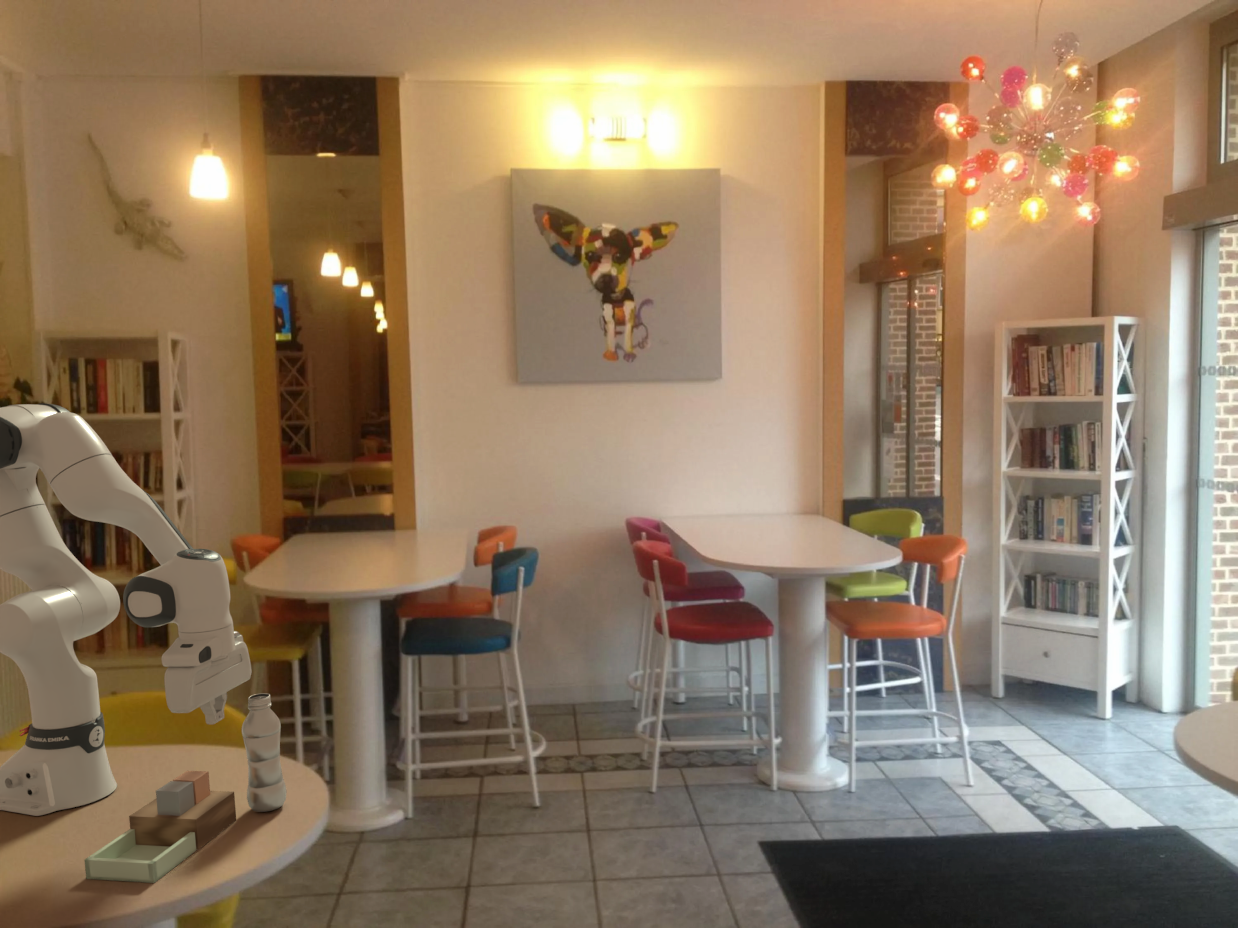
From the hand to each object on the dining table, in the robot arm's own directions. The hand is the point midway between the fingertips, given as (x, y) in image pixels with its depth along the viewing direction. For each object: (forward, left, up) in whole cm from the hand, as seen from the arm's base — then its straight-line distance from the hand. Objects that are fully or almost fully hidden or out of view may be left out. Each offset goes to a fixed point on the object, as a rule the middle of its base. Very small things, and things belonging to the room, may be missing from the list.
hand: (215, 721), depth 184 cm
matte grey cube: (0, -12, -11) cm, 16 cm away
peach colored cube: (0, -7, -11) cm, 13 cm away
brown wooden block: (-1, -9, -16) cm, 18 cm away
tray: (-1, -21, -16) cm, 26 cm away
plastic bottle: (+8, +1, -16) cm, 18 cm away
